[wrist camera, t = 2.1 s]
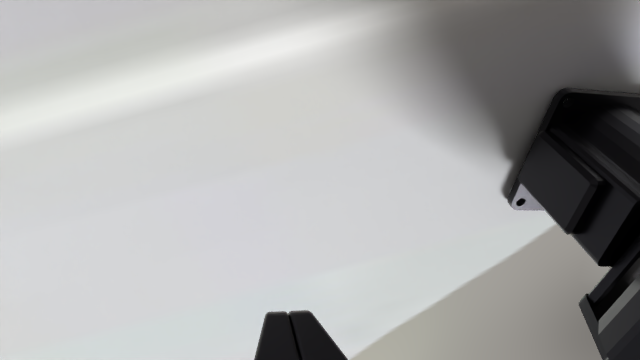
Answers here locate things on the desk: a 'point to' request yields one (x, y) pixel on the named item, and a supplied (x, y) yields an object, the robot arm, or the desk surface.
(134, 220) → the desk surface
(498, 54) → the desk surface
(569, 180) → the robot arm
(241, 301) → the desk surface
